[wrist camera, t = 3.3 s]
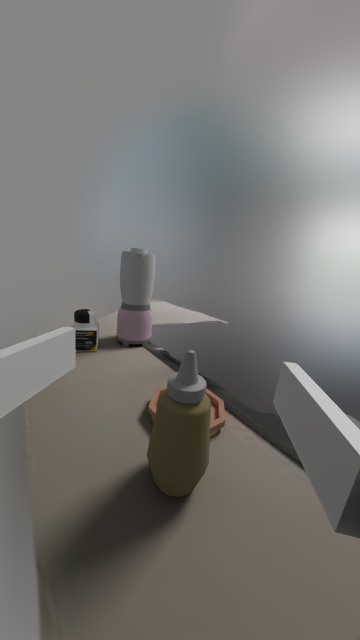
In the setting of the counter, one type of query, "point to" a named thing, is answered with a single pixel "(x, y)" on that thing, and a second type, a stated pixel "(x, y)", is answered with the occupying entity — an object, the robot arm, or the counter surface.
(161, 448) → the squeeze bottle
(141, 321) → the blender
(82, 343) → the medicine bottle
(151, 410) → the dish
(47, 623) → the counter surface
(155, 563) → the counter surface
